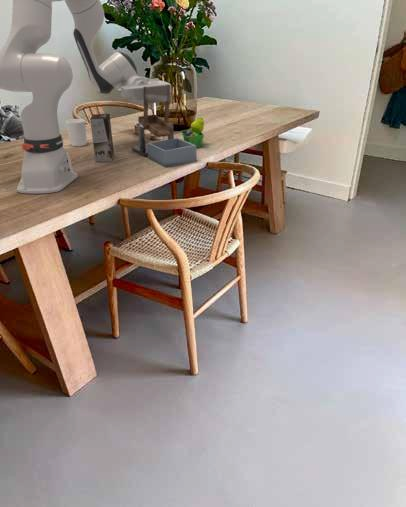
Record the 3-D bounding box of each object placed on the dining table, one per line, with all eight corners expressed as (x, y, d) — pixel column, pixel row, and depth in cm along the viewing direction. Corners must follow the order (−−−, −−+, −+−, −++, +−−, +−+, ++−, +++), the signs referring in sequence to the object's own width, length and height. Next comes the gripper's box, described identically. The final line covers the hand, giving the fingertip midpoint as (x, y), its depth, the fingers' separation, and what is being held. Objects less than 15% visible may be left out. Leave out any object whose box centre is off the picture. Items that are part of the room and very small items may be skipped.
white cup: (83, 147, 180) (79, 123, 175) (66, 146, 182) (62, 122, 177) (91, 142, 187) (88, 119, 182) (74, 141, 188) (71, 118, 184)
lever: (135, 123, 171) (135, 80, 161) (158, 120, 176) (159, 78, 166) (152, 138, 162) (153, 93, 151) (176, 134, 167) (178, 90, 156)
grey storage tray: (148, 158, 166) (147, 143, 163) (178, 152, 172) (177, 137, 169) (165, 167, 156) (164, 151, 153) (196, 161, 162) (196, 145, 160)
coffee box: (112, 161, 163) (107, 118, 155) (95, 162, 162) (89, 118, 154) (114, 154, 171) (110, 113, 163) (98, 155, 170) (93, 113, 162)
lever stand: (132, 150, 175) (129, 124, 170) (164, 145, 182) (162, 119, 177) (144, 157, 167) (142, 129, 162) (177, 151, 174) (176, 124, 169)
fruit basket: (181, 142, 187) (180, 115, 181) (200, 140, 189) (200, 114, 183) (186, 149, 177) (186, 121, 171) (207, 147, 179) (207, 120, 173)
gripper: (114, 82, 164) (129, 86, 154) (160, 77, 174) (177, 81, 164) (115, 99, 167) (130, 104, 157) (161, 94, 177) (178, 98, 167)
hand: (155, 92), depth 161 cm, fingers closed
